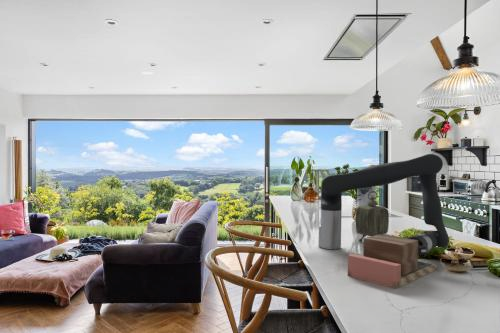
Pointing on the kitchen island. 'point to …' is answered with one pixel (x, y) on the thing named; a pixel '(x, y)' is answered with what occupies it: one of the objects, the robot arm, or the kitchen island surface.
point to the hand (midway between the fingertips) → (398, 251)
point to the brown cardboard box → (393, 251)
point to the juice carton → (365, 195)
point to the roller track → (384, 271)
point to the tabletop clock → (371, 219)
